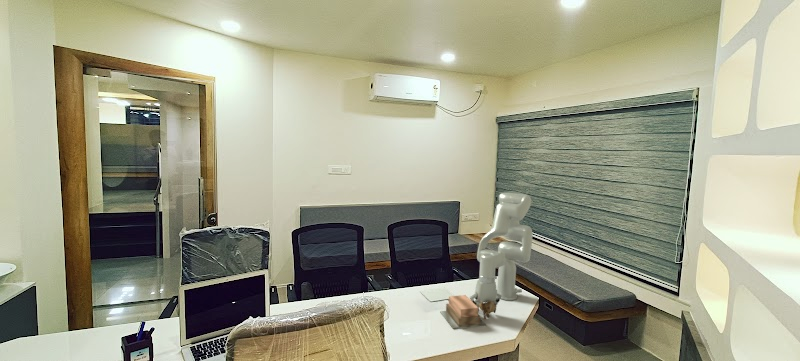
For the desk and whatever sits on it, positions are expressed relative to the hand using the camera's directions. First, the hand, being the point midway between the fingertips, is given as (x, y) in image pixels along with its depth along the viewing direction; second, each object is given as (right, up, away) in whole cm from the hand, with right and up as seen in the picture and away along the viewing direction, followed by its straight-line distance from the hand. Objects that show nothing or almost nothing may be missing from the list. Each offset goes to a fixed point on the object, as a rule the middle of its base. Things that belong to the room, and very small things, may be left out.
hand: (484, 312), depth 163 cm
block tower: (-12, -2, -3) cm, 13 cm away
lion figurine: (0, -2, +1) cm, 2 cm away
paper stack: (-23, 0, +17) cm, 29 cm away
